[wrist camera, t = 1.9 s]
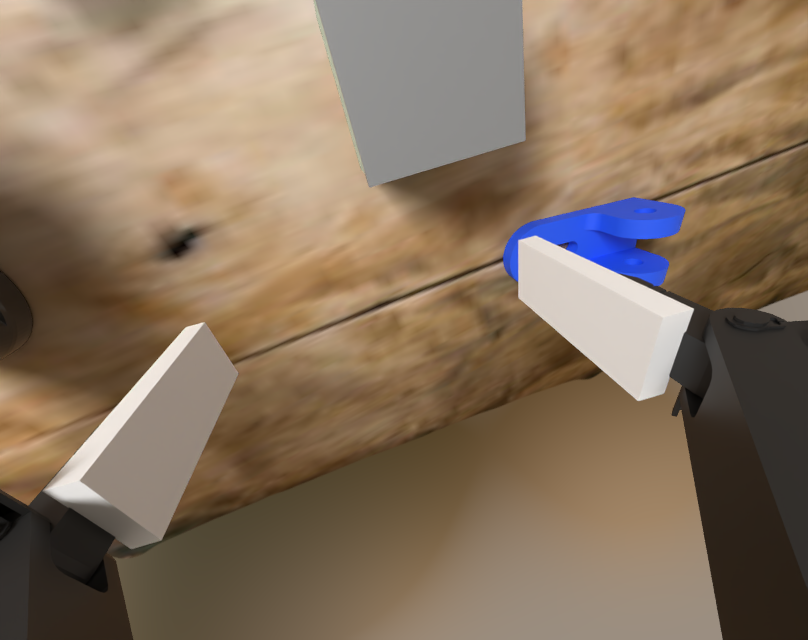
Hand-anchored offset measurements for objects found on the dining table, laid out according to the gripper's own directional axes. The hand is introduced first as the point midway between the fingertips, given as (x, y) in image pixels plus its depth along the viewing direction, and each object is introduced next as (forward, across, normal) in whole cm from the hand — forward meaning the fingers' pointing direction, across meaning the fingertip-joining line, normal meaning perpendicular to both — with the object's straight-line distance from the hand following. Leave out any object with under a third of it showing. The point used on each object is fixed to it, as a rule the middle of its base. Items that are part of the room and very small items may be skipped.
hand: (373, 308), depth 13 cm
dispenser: (+24, +7, +10) cm, 27 cm away
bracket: (+25, +26, -11) cm, 38 cm away
